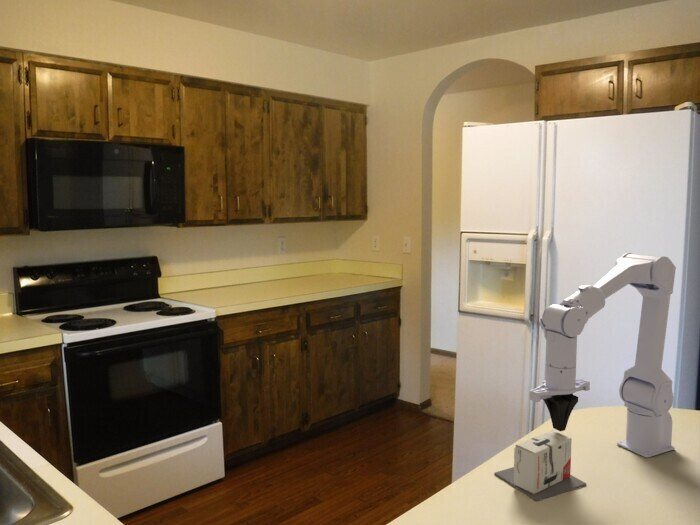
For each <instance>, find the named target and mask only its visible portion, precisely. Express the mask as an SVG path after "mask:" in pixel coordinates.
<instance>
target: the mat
mask: <svg viewBox="0 0 700 525" xmlns="http://www.w3.org/2000/svg"><path fill="white" fill-rule="evenodd" d="M494 475H495V476H496V477H498V478H499V479H501V480H502V481H503V482H505V483H507V484H509V485H510V486H512V487H513V488H515V489H517V490H518V491H520V492H521V493H523V494H524V495H525V496H527V497H528V498H531V499H532V500H533V501H535V502H540V501H542V500H546V499H549V498H551V497H555V496H558V495H561V494H564V493H567V492H570V491H573V490H576V489H579V488H583V487H585V486H587V482H585V481H583V480H581V479H579V478H578V477H576V476H574V475H572V474H570V477H569V478H566V479H564V480H562V481H560V482H558V483H556V484H554V485H552V486H550V487H548V488H546V489H544V490H542V491H539V492H537V493H535V494H532V493H530V492H528V491H527V490H524V489H522V488H520V487H518V486H516V485H515V484H514V466H513V467H509V468H506V469H503V470H502V469H501V470H499V471H496V472H495V471H494Z"/></svg>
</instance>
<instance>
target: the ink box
mask: <svg viewBox="0 0 700 525" xmlns="http://www.w3.org/2000/svg"><path fill="white" fill-rule="evenodd" d="M513 450H514V451H513V452H514V455H513V458H514V459H513V460H514V462H513V467H514V484H515V485H516V486H518V487H520V488H522V489H524V490H527V491H528V492H530V493H532V494H535V493H537V492H539V491H542V490H544V489H546V488H548V487H550V486H552V485H554V484H556V483H558V482H560V481H562V480H564V479H566V478H569V477H570V475H571V468H572V467H571V466H572V465H571V462H572V437H570V436H567V435H564V434H563V433H560V432H557V431H555V430H550V431H548V432H544V433H542V434H539V435H537V436H535V437H532V438H529V439H527V440H525V441H521V442H520V443H517V444H515V447H514V449H513Z"/></svg>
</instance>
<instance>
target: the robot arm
mask: <svg viewBox="0 0 700 525" xmlns="http://www.w3.org/2000/svg"><path fill="white" fill-rule="evenodd" d="M675 276H676V265H675V264H674V262H673V261H672V260H671V259H670V257H668V256H658V255H657V256H656V255H647V254H638V253H632V252H626V253H624V254H622V256H620V257H618V258H617V259H616V260H615V264H614V267H612V269H611V270H610V271H608V272H607V273H606V274H605V275H603V277H601V279H599V280H598V281H597V282H596V283H595V284H594V285H591V284H585V285H583V284H582V285H580V286H578V290H577V291H575V292H574V293H573V294H571V295H569V296H568V297H567V298H564V299H562V301H561V302H560V303H559V304H557V303H556V304H554V303H553V304H551V305H549V306H548V307H546V308H545V310H544V311H543V312H542V315H541V316H542V317H541V318H540V320H539V323H540V325H541V328H542V329H543V331H544V336H543V337H544V339H545V340H546V352H545V353H546V354H545V355H546V356H545V380H543V381H542V384H541V385H539V386H537V387H536V388H533V389H529V400H531V401H532V402H535V403H539V402H541V400H543V402H544V404H545V406H546V407H547V410H548V413H549V416H550V420H551V425H552V427H553V429H554V430H556V431H559V432H564V431H566V429H567V426H568V422H569V420H570V419H569V418H570V416H571V414H572V412H573V410H574V408H575V406H576V405H577V403H579V396H577V395H575V393H577V392H582V391H586V392H588V391H590V388H591V387H590V385H591V381H589V380H587V379H584V378H579V379H577V378H576V377H577V353H578V352H577V350H578V349H577V348H578V344H577V343H578V336H580V335H581V334H582V332H583V331H584V329H585V326H586V324H587V323H588V321H589V319H591V318H592V317H593V316H594V315H596V314H597V313H598V312H600V311H601V310H603V309H604V307H605V306H606V299H608V298H609V297H611V296H612V295H614V294H615V293H617V292H618V291H620V290H621V289H624V288H625V287H626V286H627V285H630V286H631V287H633V288H635V289H636V290H637V292H638V293H640V295H641V296H642V301H641V302H642V303H641V311H640V320H639V328H638V334H637V344H636V353H635V360H634V365H633V366H631V367H629V368H628V369H625V371H624V372H623V373H624V374H623V379H622V380H621V383H620V385H619V388H618V390H619V398H620V399H621V401H622V402H624V407H625V408H626V431H625V439H624V440H620V441H617V442H616V445H617V446H619V447H621V448H624V449H626V450H629V451H630V452H633V453H635V454H638V455H640V456H642V457H643V458H651V457H654V456H657V455H661V454H663V453H667V452H670V451H672V450H675V449H676V448H675V447H676V446H674V445H672V442H673V441H672V438H673V417H672V416H671V413H670V412H669V411H670V410H671V409H672V406H673V404H674V400H675V398H674V392H673V380H672V379H671V377H669V376H668V375H667V374H666V372H665V371H664V370H663V369H662V368H663V367H662V365H663V361H664V360H663V359H664V353H665V352H664V350H665V342H666V336H667V328H668V326H667V325H668V318H669V317H668V316H669V309H670V303H671V302H670V301H671V296H672V295H673V292H674V284H675V278H676V277H675Z"/></svg>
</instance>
